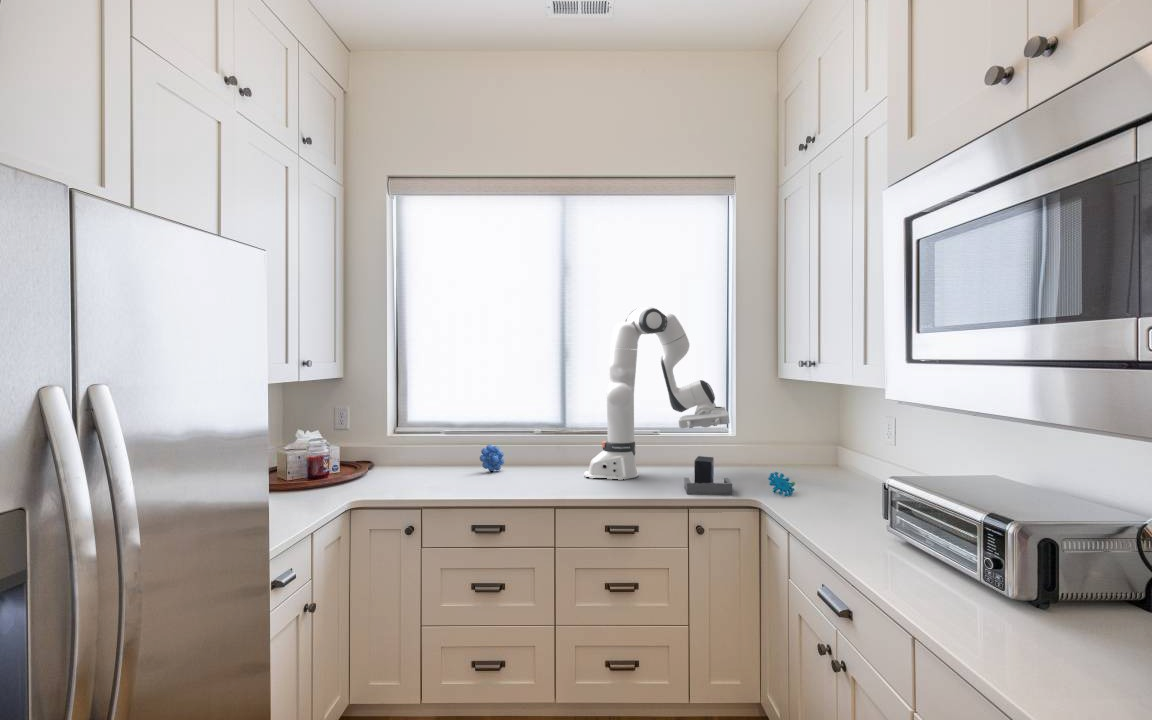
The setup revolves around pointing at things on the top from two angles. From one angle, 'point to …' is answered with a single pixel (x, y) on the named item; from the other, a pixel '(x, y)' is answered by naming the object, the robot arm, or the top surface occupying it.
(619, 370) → the robot arm
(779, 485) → the blue virus model
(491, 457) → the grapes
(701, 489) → the centring channel
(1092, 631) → the top surface
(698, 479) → the small box
